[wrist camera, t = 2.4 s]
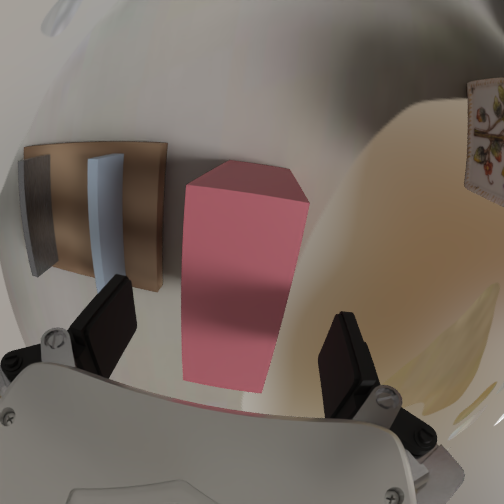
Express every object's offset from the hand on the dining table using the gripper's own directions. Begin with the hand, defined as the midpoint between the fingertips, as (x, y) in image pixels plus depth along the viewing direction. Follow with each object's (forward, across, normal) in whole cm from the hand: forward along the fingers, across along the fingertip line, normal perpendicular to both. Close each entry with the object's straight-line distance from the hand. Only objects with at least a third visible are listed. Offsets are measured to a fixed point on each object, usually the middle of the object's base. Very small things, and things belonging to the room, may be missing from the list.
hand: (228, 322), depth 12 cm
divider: (+12, +12, +1) cm, 17 cm away
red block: (+13, 0, +1) cm, 13 cm away
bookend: (+12, +21, +1) cm, 24 cm away
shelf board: (+13, +17, +1) cm, 21 cm away
